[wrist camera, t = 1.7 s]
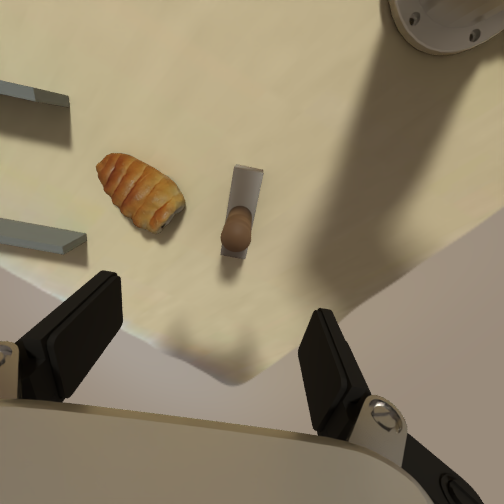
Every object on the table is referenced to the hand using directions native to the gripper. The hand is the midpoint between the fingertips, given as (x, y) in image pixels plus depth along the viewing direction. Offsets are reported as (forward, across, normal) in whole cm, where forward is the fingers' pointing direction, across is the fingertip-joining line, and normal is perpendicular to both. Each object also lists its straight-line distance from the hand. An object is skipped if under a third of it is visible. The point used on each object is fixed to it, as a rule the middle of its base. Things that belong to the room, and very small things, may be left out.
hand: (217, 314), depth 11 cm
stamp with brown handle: (+19, 0, 0) cm, 19 cm away
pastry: (+19, +11, 0) cm, 22 cm away
